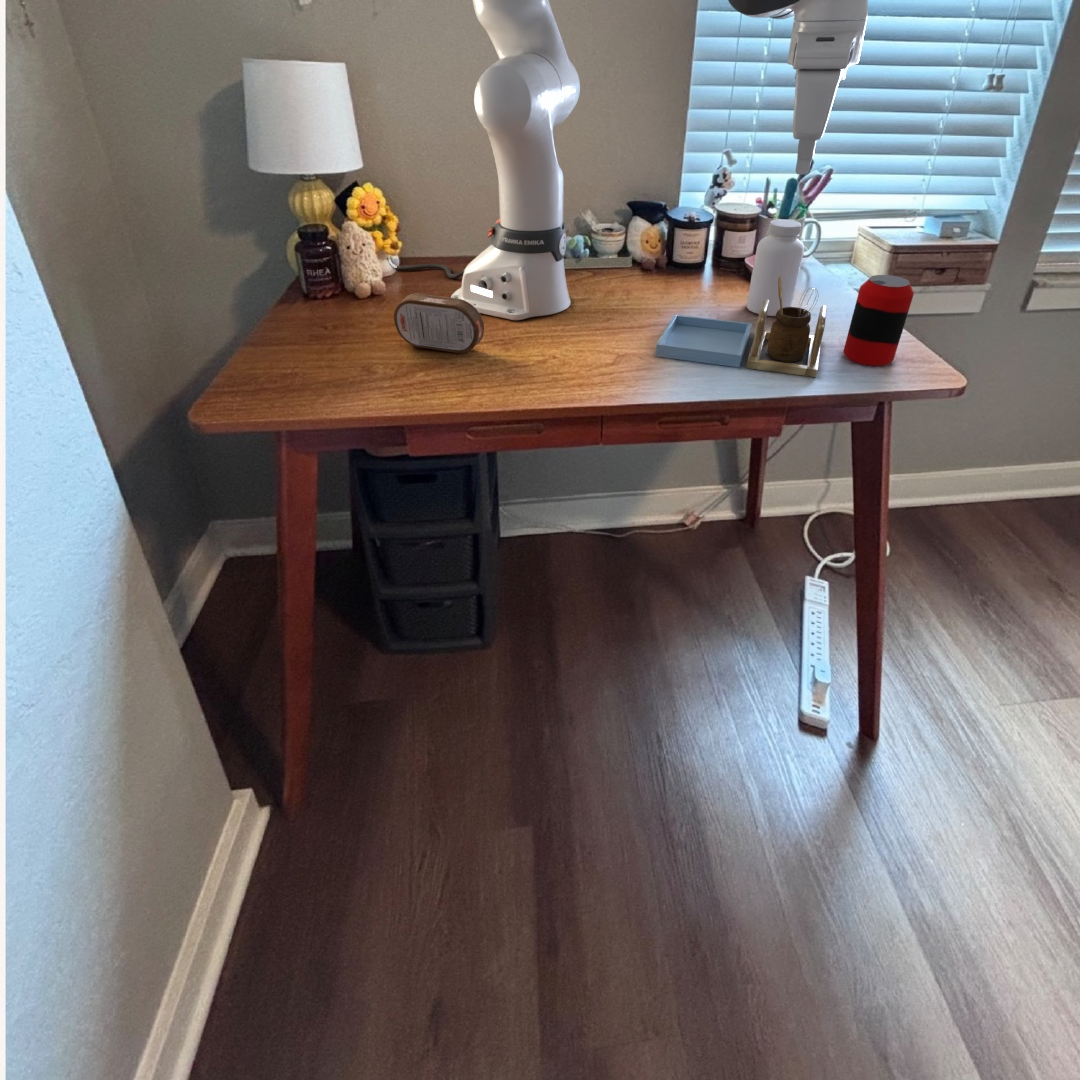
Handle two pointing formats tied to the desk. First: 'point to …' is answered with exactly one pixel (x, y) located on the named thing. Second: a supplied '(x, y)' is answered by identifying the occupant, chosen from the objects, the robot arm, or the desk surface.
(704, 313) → the desk surface
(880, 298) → the soda can
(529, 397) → the desk surface
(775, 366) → the rack
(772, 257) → the pill bottle
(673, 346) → the tray
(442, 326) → the tin
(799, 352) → the utensil holder
